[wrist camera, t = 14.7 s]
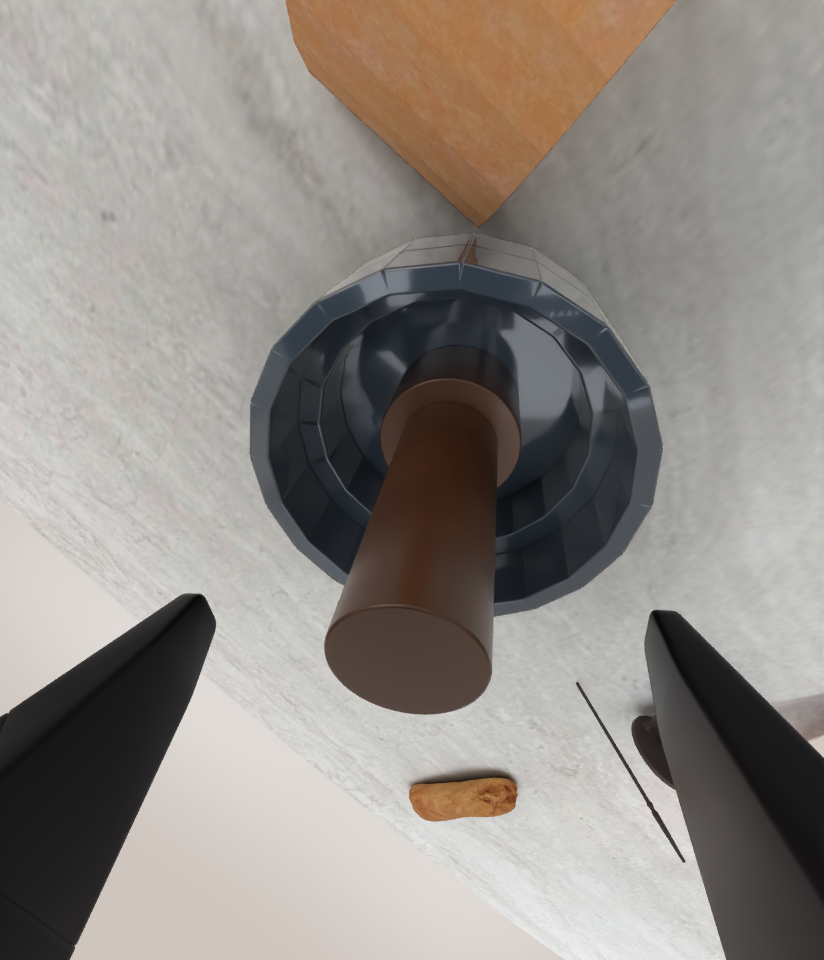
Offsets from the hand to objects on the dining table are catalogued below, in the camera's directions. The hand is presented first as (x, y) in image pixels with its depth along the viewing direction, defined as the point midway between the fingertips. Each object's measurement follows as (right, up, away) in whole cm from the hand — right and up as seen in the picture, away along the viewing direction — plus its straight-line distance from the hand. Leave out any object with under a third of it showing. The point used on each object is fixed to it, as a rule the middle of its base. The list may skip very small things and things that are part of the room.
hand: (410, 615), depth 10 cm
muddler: (+2, +5, +8) cm, 10 cm away
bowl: (+2, +6, +8) cm, 10 cm away
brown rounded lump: (+3, -17, +22) cm, 27 cm away
